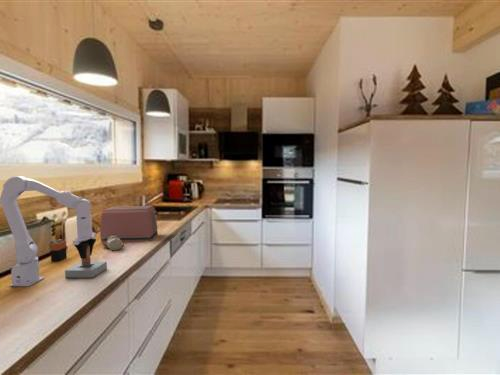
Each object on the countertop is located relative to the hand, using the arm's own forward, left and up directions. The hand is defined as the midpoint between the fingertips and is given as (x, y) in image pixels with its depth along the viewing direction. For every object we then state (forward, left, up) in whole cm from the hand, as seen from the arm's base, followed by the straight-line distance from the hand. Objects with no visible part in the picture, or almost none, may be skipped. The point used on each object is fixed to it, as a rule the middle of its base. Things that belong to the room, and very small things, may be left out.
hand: (86, 256), depth 140 cm
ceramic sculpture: (+41, +9, -8) cm, 43 cm away
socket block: (0, 0, -8) cm, 8 cm away
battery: (+20, +27, -8) cm, 34 cm away
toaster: (+65, +8, -8) cm, 66 cm away
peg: (0, 0, -3) cm, 3 cm away
